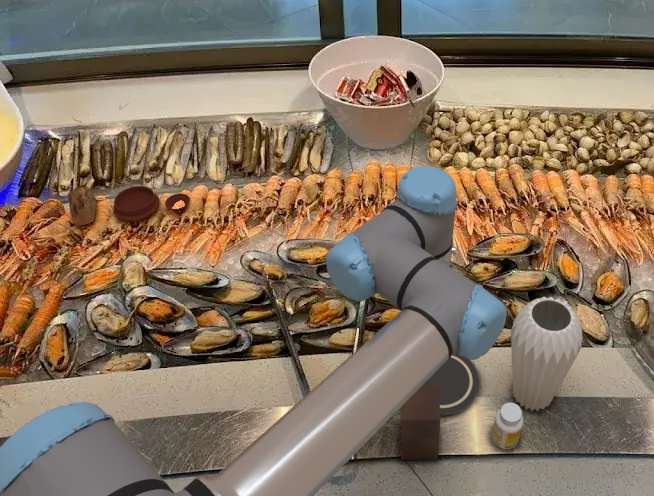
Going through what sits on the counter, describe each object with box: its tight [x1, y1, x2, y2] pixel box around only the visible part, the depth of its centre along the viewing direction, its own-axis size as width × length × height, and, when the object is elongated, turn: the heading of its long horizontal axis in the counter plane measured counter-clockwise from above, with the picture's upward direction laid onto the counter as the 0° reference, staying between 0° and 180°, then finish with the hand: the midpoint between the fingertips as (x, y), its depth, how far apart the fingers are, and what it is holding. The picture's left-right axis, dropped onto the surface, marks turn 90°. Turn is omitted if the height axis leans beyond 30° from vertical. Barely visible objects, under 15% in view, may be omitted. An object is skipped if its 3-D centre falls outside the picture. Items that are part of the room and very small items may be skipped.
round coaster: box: [423, 352, 480, 417], centre depth 139 cm, size 16×16×1 cm
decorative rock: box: [67, 186, 98, 227], centre depth 171 cm, size 12×6×11 cm, turn 18°
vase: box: [510, 296, 584, 412], centre depth 129 cm, size 13×13×26 cm
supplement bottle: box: [491, 402, 524, 450], centre depth 127 cm, size 5×5×10 cm
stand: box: [400, 385, 442, 461], centre depth 124 cm, size 7×7×15 cm
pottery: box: [112, 185, 191, 222], centre depth 176 cm, size 12×20×4 cm, turn 92°
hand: (422, 357), depth 110 cm, fingers closed on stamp, 4 cm apart
